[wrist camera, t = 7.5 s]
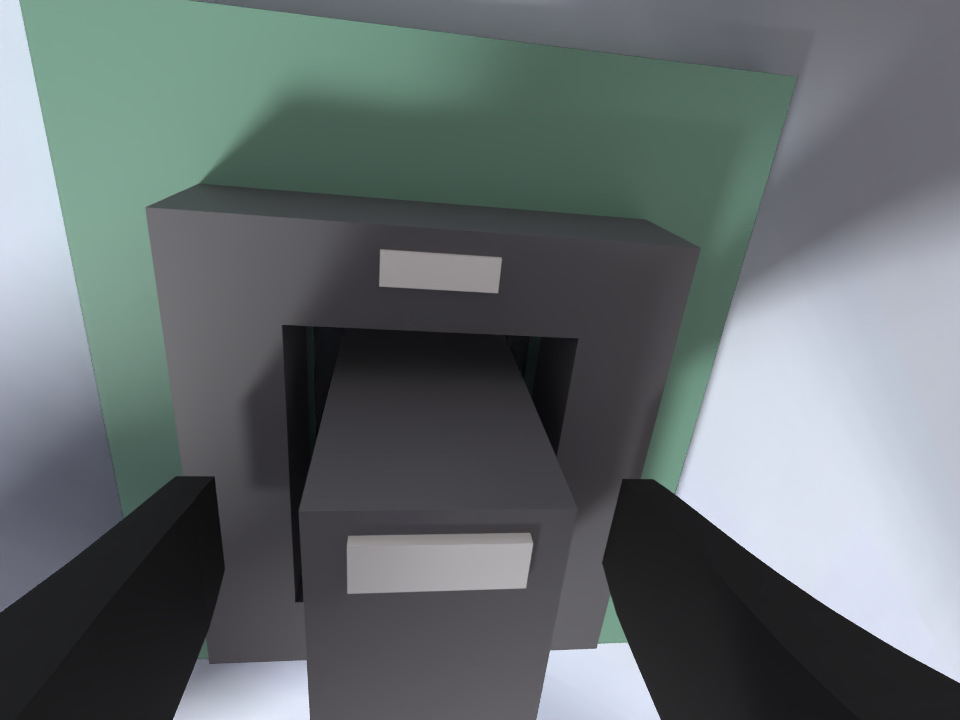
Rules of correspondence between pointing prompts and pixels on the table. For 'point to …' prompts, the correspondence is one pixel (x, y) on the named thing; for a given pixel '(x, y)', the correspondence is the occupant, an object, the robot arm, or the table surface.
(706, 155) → the board
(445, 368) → the plug
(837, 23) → the table surface
